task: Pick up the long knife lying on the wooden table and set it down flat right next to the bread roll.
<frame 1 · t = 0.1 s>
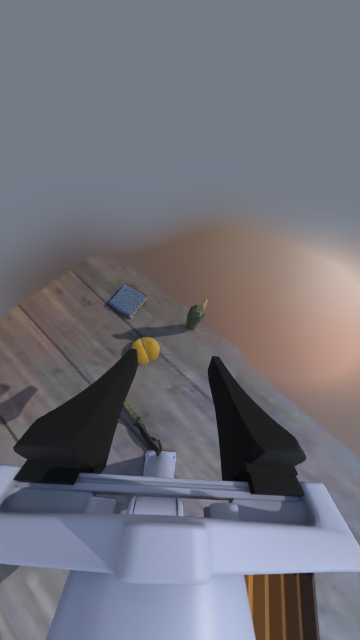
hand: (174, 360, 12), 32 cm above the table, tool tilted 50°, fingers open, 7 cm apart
bread roll: (145, 350, 43), on the table
pan flute: (253, 634, 28), on the table
woven mat: (129, 301, 48), on the table
vegetable: (189, 326, 47), on the table
knife: (134, 411, 38), on the table
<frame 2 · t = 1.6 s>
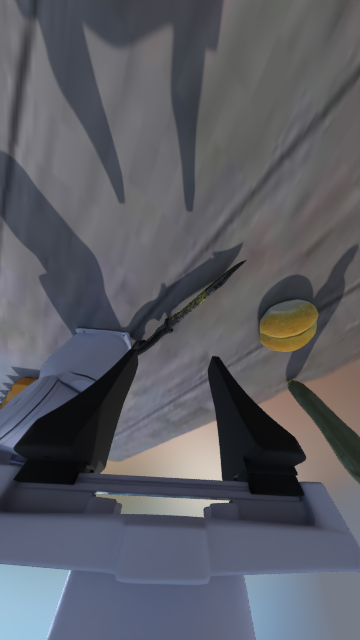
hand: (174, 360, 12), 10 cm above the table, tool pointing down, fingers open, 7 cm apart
bread roll: (279, 321, 22), on the table
pan flute: (32, 401, 37), on the table
vegetable: (291, 377, 30), on the table
knife: (178, 310, 22), on the table
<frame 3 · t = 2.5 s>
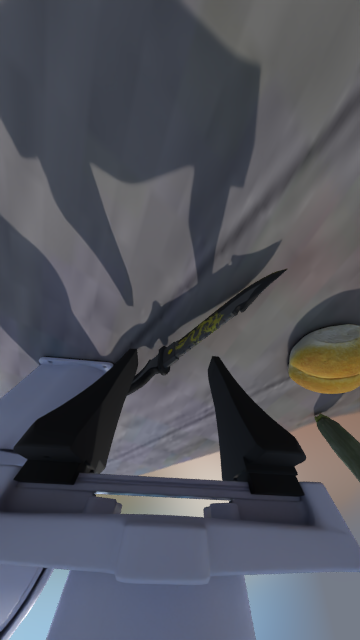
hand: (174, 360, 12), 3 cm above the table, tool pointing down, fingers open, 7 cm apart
bread roll: (317, 350, 16), on the table
vegetable: (319, 411, 24), on the table
knife: (178, 336, 15), on the table
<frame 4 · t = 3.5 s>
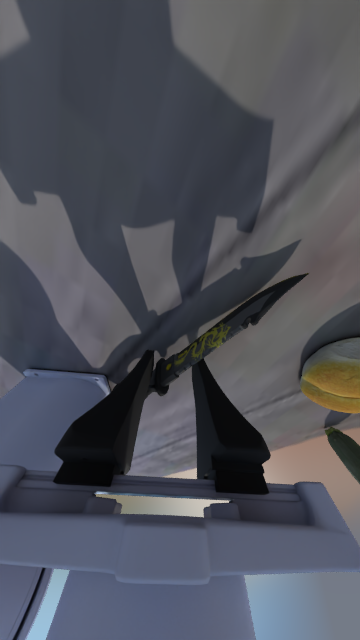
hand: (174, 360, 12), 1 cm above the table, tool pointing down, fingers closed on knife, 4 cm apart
bread roll: (333, 363, 15), on the table
vegetable: (330, 424, 22), on the table
knife: (177, 347, 14), on the table, touching gripper
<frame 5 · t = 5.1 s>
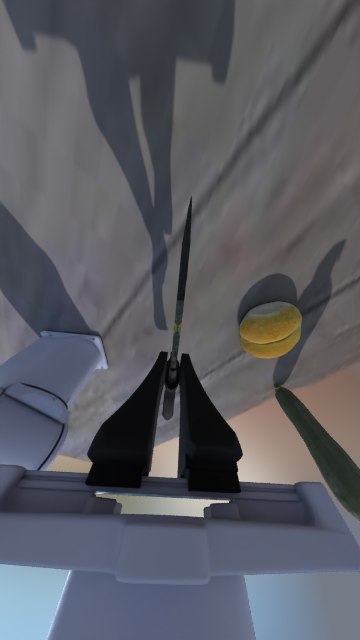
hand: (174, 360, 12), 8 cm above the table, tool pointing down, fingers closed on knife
bread roll: (262, 325, 20), on the table
vegetable: (279, 383, 28), on the table
knife: (174, 342, 14), point 6 cm above the table, touching gripper
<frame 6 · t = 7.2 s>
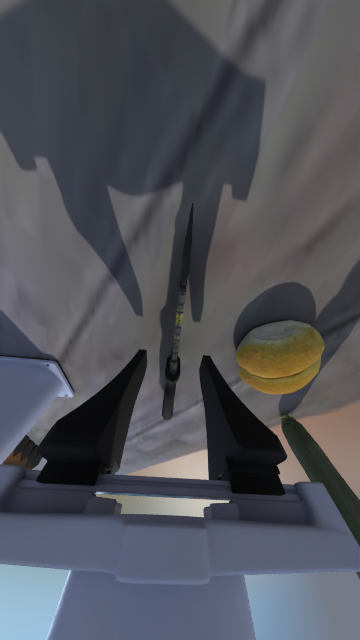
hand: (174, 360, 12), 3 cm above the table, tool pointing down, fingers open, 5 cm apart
bread roll: (267, 348, 15), on the table
vegetable: (286, 412, 23), on the table
knife: (175, 338, 15), on the table
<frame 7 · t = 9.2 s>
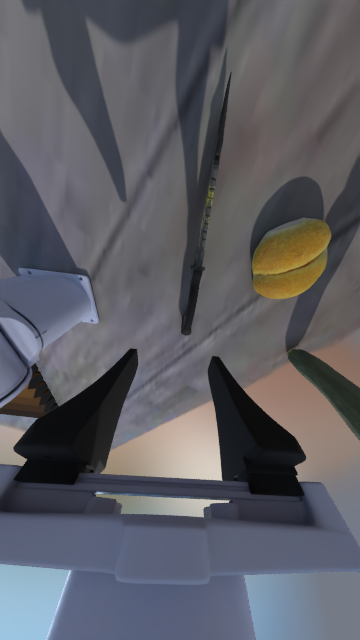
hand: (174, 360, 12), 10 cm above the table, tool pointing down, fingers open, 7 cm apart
bread roll: (278, 261, 17), on the table
vegetable: (291, 346, 25), on the table
knife: (198, 248, 17), on the table
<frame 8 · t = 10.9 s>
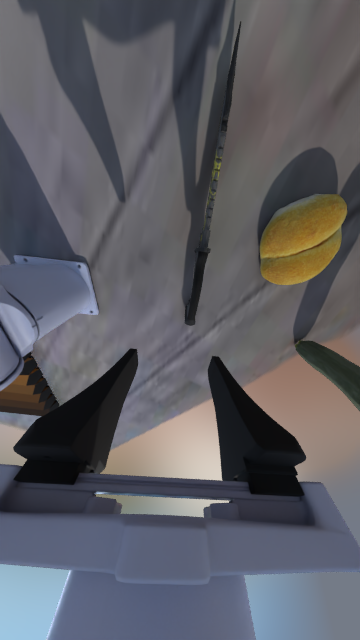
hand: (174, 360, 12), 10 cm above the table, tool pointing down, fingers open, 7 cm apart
bread roll: (288, 244, 16), on the table
vegetable: (299, 337, 24), on the table
knife: (202, 231, 16), on the table
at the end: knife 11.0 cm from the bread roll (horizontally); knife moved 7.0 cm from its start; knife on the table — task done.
